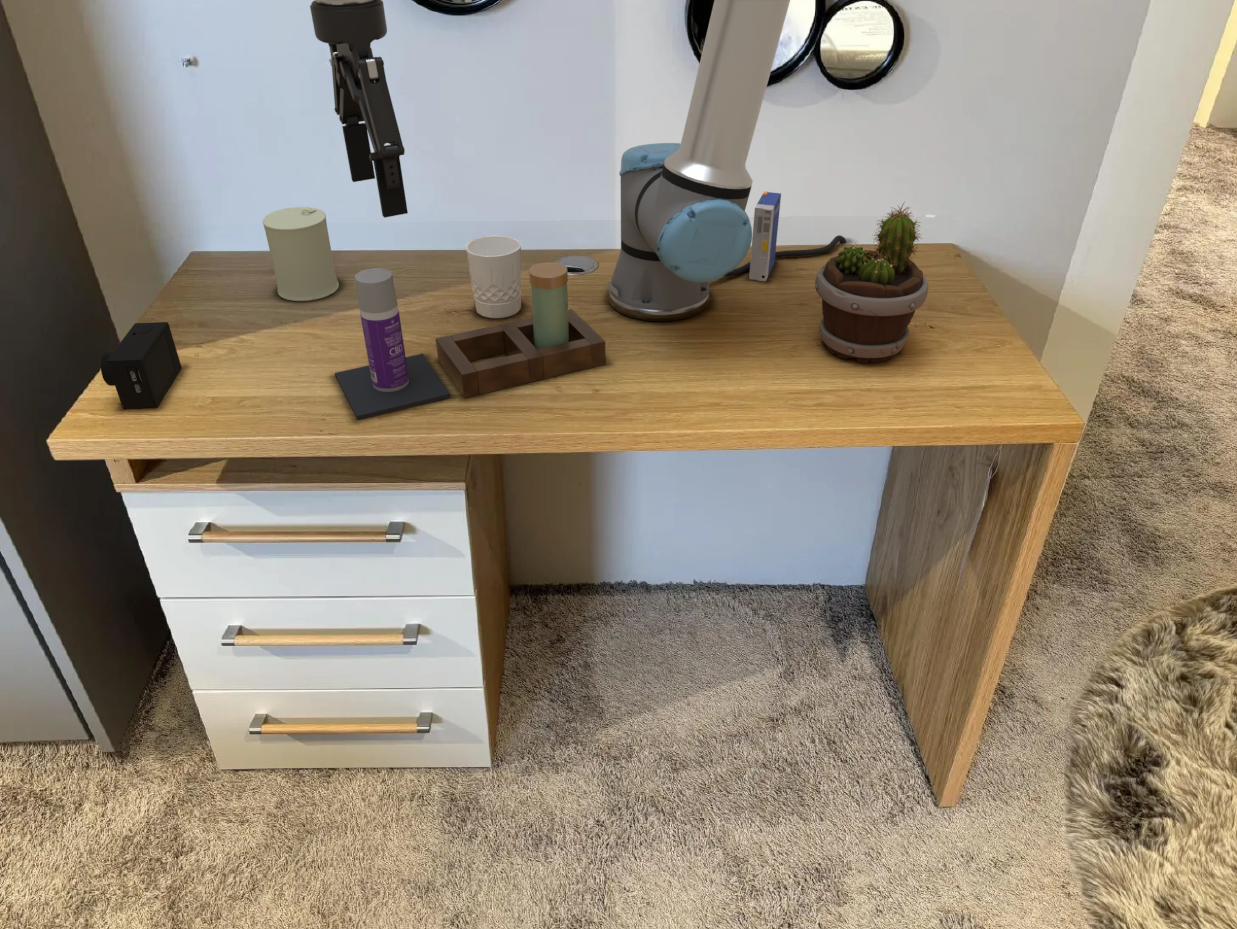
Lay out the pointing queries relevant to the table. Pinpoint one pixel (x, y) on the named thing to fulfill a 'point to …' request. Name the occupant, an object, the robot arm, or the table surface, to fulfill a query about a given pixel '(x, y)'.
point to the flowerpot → (872, 293)
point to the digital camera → (142, 365)
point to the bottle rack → (516, 355)
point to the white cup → (495, 275)
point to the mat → (375, 402)
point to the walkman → (764, 236)
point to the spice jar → (549, 304)
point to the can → (301, 253)
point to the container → (382, 329)
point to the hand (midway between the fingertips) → (378, 196)
